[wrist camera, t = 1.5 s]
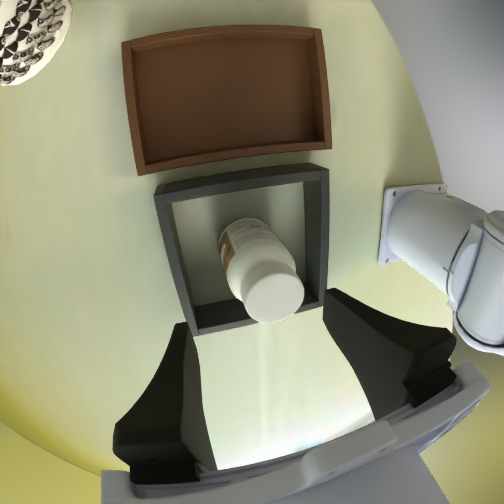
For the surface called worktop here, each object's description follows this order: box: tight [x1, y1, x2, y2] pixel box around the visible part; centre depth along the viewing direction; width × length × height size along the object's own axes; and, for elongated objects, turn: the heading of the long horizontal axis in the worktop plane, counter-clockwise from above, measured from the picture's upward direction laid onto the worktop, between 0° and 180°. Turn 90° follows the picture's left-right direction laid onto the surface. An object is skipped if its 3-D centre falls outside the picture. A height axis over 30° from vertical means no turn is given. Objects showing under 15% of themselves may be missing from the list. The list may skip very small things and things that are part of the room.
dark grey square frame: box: [154, 163, 329, 337], centre depth 20 cm, size 11×11×3 cm
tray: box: [121, 25, 332, 176], centre depth 16 cm, size 13×9×2 cm
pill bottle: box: [218, 218, 304, 323], centre depth 18 cm, size 4×4×8 cm
